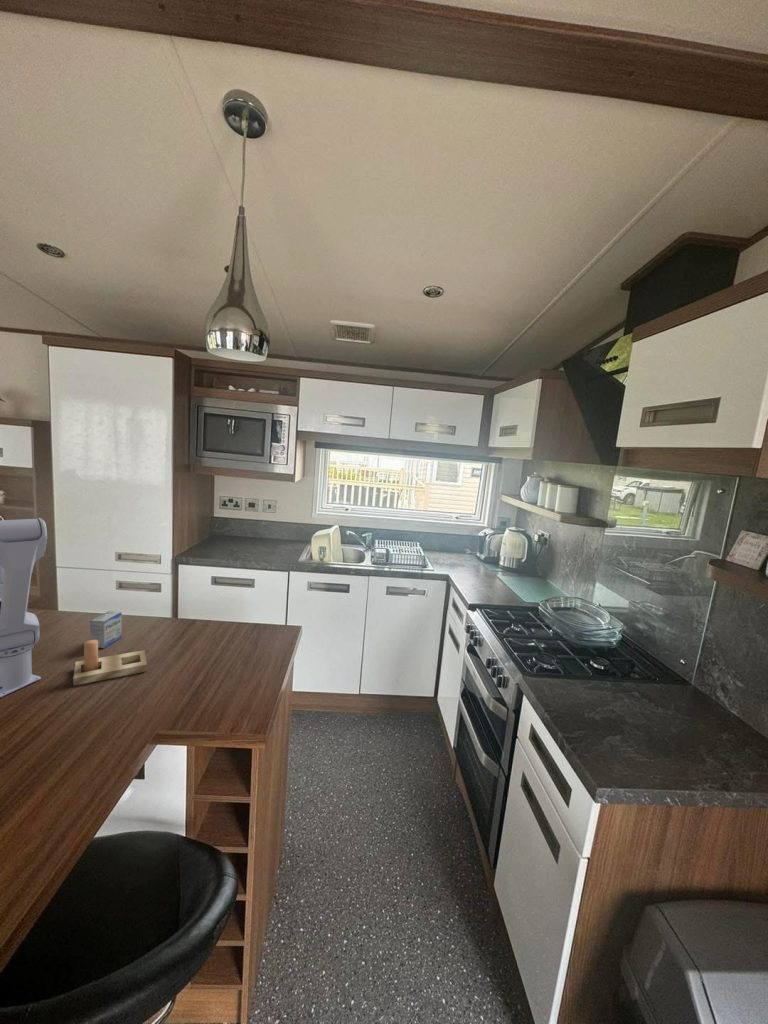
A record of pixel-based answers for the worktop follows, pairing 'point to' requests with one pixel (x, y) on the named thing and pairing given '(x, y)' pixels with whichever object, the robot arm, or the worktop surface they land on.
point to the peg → (90, 655)
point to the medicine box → (106, 628)
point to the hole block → (111, 667)
